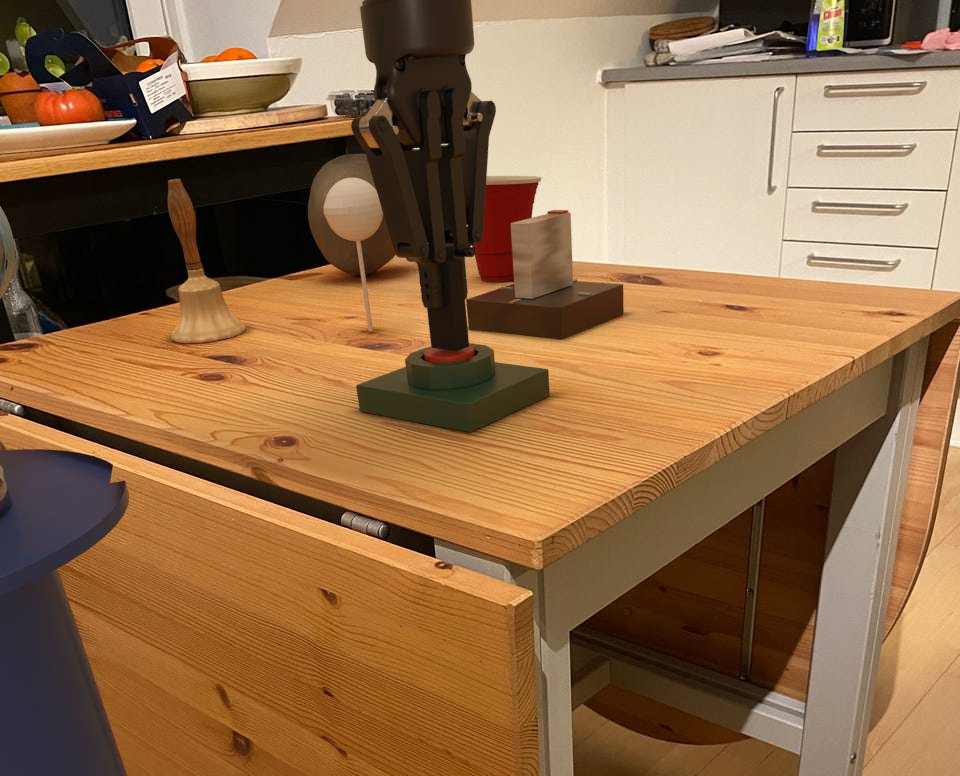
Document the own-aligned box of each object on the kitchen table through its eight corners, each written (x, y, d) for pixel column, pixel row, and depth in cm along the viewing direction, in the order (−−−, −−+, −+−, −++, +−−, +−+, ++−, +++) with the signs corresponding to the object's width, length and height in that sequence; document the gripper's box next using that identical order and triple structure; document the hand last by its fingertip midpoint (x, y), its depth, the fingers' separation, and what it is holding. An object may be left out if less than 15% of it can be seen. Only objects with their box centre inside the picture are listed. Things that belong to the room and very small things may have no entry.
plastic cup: (563, 274, 123) (559, 169, 117) (491, 289, 119) (483, 181, 113) (515, 265, 132) (509, 167, 126) (446, 279, 127) (437, 178, 121)
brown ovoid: (295, 283, 134) (274, 162, 127) (365, 263, 144) (350, 149, 136) (370, 288, 126) (353, 159, 119) (439, 267, 136) (427, 146, 128)
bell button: (416, 376, 78) (413, 354, 78) (449, 363, 81) (446, 342, 80) (453, 381, 76) (451, 359, 75) (486, 368, 79) (484, 346, 78)
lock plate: (467, 329, 102) (464, 297, 101) (532, 305, 109) (531, 276, 108) (561, 339, 95) (560, 305, 93) (624, 313, 102) (624, 282, 101)
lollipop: (363, 340, 102) (341, 182, 94) (331, 334, 105) (307, 181, 98) (410, 327, 105) (391, 173, 97) (377, 321, 109) (357, 173, 101)
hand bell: (248, 336, 108) (216, 177, 100) (171, 347, 106) (133, 187, 98) (243, 321, 115) (214, 172, 107) (171, 332, 113) (135, 180, 105)
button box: (359, 411, 80) (351, 362, 78) (440, 379, 86) (435, 333, 84) (470, 432, 73) (465, 379, 71) (550, 395, 79) (547, 346, 77)
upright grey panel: (532, 299, 98) (527, 221, 94) (515, 297, 99) (510, 220, 95) (573, 284, 102) (570, 209, 99) (556, 283, 103) (553, 209, 100)
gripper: (385, -15, 59) (429, 373, 71) (518, -17, 68) (537, 331, 79) (304, 0, 64) (358, 363, 76) (437, -4, 72) (467, 324, 84)
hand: (450, 346), depth 77 cm, fingers closed
